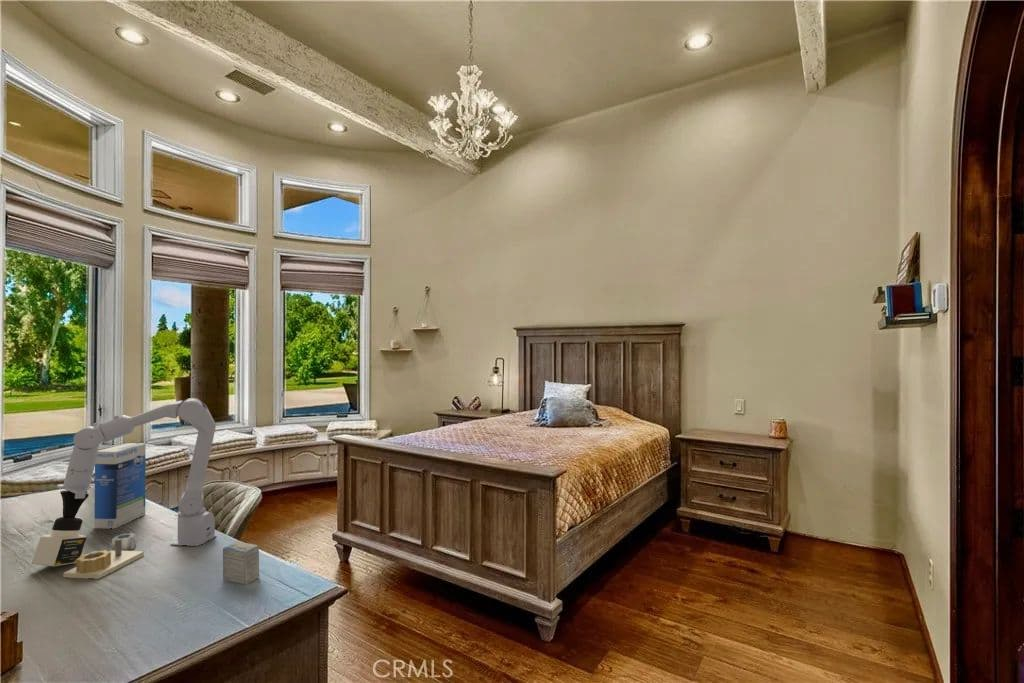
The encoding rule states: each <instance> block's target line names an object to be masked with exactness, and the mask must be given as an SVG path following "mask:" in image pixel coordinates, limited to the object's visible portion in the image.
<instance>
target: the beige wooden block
mask: <svg viewBox="0 0 1024 683" xmlns="http://www.w3.org/2000/svg"><path fill="white" fill-rule="evenodd" d="M256 578H257V579H259V578H260V546H259V545H258V544H254V543H247V542H243V541H242V542H241V541H235V542H232V543H230V544H228V545H226V546H224V547H223V548H222V580H223V581H225V580H226V581H227V582H231V583H235V584H241V585H245V586H247V585H248V584H250V583H252V582H254V581H255V580H257V579H256ZM253 580H254V581H253ZM251 581H252V582H251Z"/></svg>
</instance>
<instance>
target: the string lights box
mask: <svg viewBox="0 0 1024 683" xmlns="http://www.w3.org/2000/svg"><path fill="white" fill-rule="evenodd" d="M146 447H147V446H146V443H145V442H143V443H137V442H135V443H133V442H130V443H129V442H126V443H123V444H118V445H115V446H112V447H107V448H103V449H98V452H97V453H98V455H97V459H96V463H95V467H94V523H93V525H94V526H93V528H94V529H105V530H106V529H109V530H110V528H112V529H114V528H115V529H117V528H119V527H122V526H123V524H124V525H125V524H128V523H130V522H132V520H133V521H134V519H135V520H137V519H139V518H141V517H140V516H142V515H144V514H145V515H146ZM145 515H144V516H145ZM138 517H139V518H138ZM142 517H143V516H142ZM136 518H137V519H136ZM121 525H122V526H121ZM112 529H111V530H112Z"/></svg>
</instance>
